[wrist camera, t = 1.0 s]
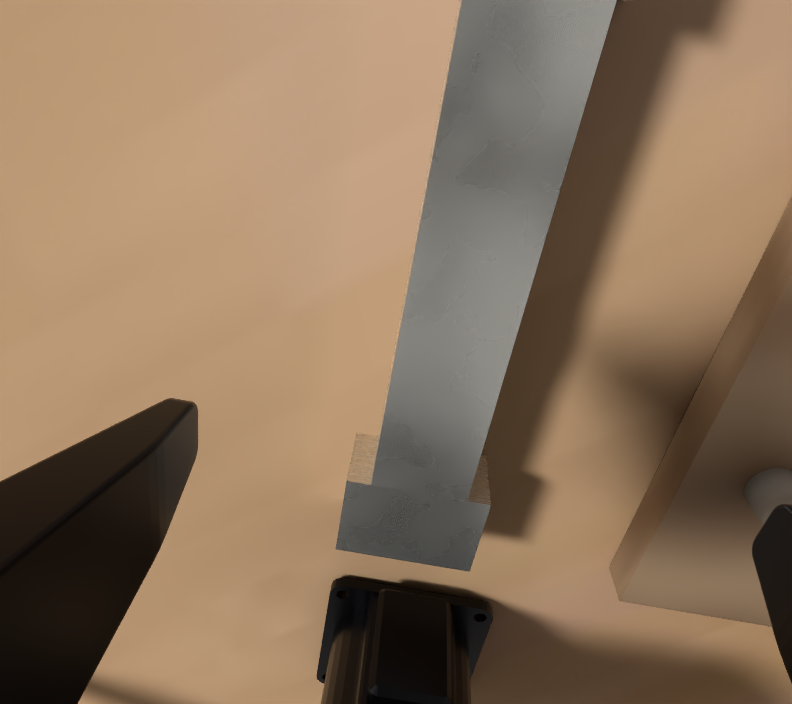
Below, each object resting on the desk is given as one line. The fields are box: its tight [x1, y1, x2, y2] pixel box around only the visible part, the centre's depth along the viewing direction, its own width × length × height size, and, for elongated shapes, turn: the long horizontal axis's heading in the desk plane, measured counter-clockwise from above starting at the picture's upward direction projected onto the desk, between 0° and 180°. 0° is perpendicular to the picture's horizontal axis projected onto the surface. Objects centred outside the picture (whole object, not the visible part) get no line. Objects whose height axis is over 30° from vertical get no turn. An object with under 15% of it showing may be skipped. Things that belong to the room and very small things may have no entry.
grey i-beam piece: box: [336, 0, 633, 572], centre depth 16 cm, size 20×4×2 cm, turn 171°
